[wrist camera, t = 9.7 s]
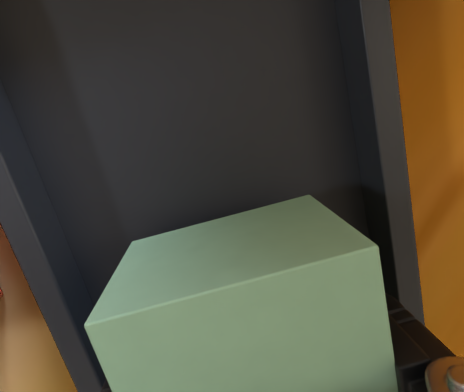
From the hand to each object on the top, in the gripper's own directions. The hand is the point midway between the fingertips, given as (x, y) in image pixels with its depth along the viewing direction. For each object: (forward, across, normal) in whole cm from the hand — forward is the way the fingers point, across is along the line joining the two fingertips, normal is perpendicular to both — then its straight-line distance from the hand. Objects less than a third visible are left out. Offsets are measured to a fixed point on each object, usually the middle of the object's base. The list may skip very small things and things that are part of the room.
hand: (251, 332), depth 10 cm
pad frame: (+3, 0, -4) cm, 5 cm away
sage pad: (+1, 0, 0) cm, 1 cm away
